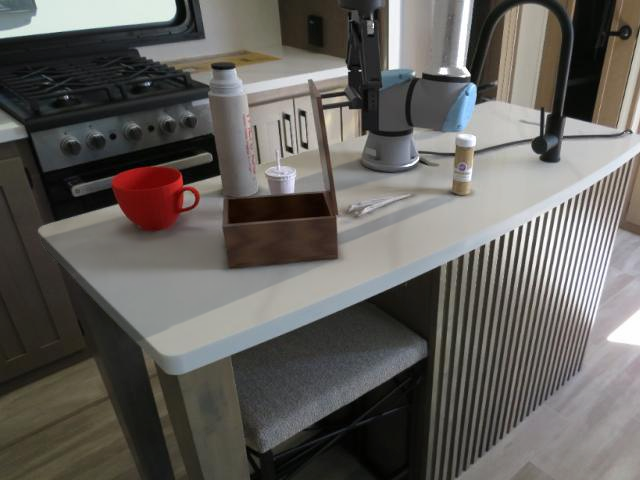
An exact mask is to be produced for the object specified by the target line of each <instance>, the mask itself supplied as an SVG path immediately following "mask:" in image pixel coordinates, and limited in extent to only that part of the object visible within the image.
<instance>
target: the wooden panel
mask: <svg viewBox="0 0 640 480" xmlns="http://www.w3.org/2000/svg"><path fill="white" fill-rule="evenodd" d="M307 84H308V91H309V96H310V103H311V108H312V116H313V122H314V127H315V134H316V141H317V146H318V147H317V148H318V153H319V159H320V165H321V171H322V172H321V174H322V178H323V184H324V185H323V186H324V191H326V193H327V196H328V199H329V201H330V204H331V207H332V210H333V213H334V215H336V216H339V215H340V214H339V207H338V201H337V194H336V193H337V192H336V188H335V181H334V174H333V166H332V160H331V154H330V146H329V140H328V132H327V125H326V120H325V119H326V118H325V113H324V111H326V110H332V109H333V110H334V109H339V108H347V107H349V106H352V107H353V108H354V109H353V110H361V109H360V108H362V99H361V97H360V96H359V95H358V93H357V92H356V91H355V89H354V88H353V87H351V86H348V85H347V86H346V87H345V88H344V90H341V91H334V92H325V93H320V92H319V90H318V88H317V86H316V84H315V82H314V80H313V79H312V78H310V79H309V78H307ZM339 97H345V98H346V99H347V101H340V102H333V103H326V104H325V103H324V104H323V100H325V99H332V98H339Z"/></svg>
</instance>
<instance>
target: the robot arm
mask: <svg viewBox="0 0 640 480" xmlns="http://www.w3.org/2000/svg"><path fill="white" fill-rule="evenodd" d="M473 2H474V0H434V7H433V15H432V30H431V31H432V32H431V41H430V51H429V63H428V65H427V66H426V67H424V68H423V70H421V71H422V73H421V77H417V73H416V70H415V69H411V68H393V69H386V70H382V62H381V51H380V39H379V26H380V25H379V20H378V19H374V16H373V12H374V11H382V10H384V9H385V8H386V0H337V5H338V7H339V8H340V9H341V10H345V11H347V12H346V16H347V26H346V27H347V28H346V45H345V59H344V62H345V65H346V69H347V87H348V86H351V87H353V88H354V89H355V91H356V92H357V93H358V95H359V96H360V97H361V99H362V108H360V109H359V110H361V130H362V131H363V132H368V135H367V137H366V141H365V143H364V147H363V150H362V153H361V163H362V166H364V167H366V168H368V169H370V170H373V171H376V172H383V173H400V172H407V171H411V170H413V169H416V168H417V167H419V164H420V155H432V156H433V155H435V156H445V157H447V156H448V157H449V156H450V157H451V156H454V157H455V152H439V151H429V150H418V146H417V143H416V139H415V135H414V128H417V129H418V128H419V129H427V130H434V131H440V132H443V133H460V132H462V131H463V130H464V129H466V128H467V126H468V124H469V123H470V120H471V118H472V115H473V113H474V108H475V105H476V102H477V91H478V90H477V89H478V88H477V85H476V84H475V83H474V82H471V78H472V77H471V76H472V74H471V73H470V71H469V70H468V69H467V67H466V65H467V55H468V46H469V39H470V38H469V37H470V36H469V35H470V28H471V20H472V12H473ZM348 110H349V111H350V110H355V109H354V108H353V107H352V106H348ZM624 132H626V133H629V134H634V132H633V131H632V129H630V128H627V129H625V130H623V131H622V132H620V133H613V134H612V133H611V134H574V135H573V134H572V135H570V134H569V135H562V136H563V138H562V139H577V138H578V139H581V138H614V137H615V138H617V137H621V136H623V135H625V134H626V133H624ZM534 138H535V137H534ZM534 138H527V139H520V140H514V141H510V142H505V143H499V144H496V145H492V146H488V147H484V148H481V149H477V150H474V155H475V154H480V153H483V152H488V151H490V150H495V149H499V148H503V147H508V146H513V145H517V144H523V143H529V142H533V141H532V140H533V139H534Z"/></svg>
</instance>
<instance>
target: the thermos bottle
mask: <svg viewBox="0 0 640 480" xmlns="http://www.w3.org/2000/svg"><path fill="white" fill-rule="evenodd" d="M210 68H211V69H212V78H211V79H210V80H209V85H208V86H209V88H210V90H209V91H208V92H207V95H208V103H209V109H210V116H211V122H212V129H213V134H214V135H213V136H214V141H215V148H216V153H217V159H218V168H219V174H220V175H219V176H220V180H221V188H222V193H223V195H225V196H227V197H243V196H254V195H255V194H256V193H258V191H259V185H258V175H257V167H256V160H255V159H256V158H255V151H254V142H253V134H252V126H251V117H250V108H249V100H248V93H247V90H246V89H244V87H243V86H244V83H243V80H242V79H241V78H240V77H238V74H237V73H238V72H237V69H236V63H235V62H232V61H231V62H230V61H217V62H213V63H211V64H210Z"/></svg>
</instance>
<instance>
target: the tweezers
mask: <svg viewBox="0 0 640 480" xmlns="http://www.w3.org/2000/svg"><path fill="white" fill-rule="evenodd" d="M409 196H412V193H409V194H404V195H403V194H402V195H398V196H391V197H383V198H375V199H366V200H362V201H358V202H354V203H352V204H349V205H348V206H347V208H346V210H347V213H350V212H351V211H353V210H355V209H360V208H363V209H362V210H360V211H355V218H359V217H361V216H363V215H365V214H367V213H368V212H372V211H374V210H375V209H378V208H380V207H383V206H386V205H388V204H390V203H393V202H396V201H399V200H403V199H406V198H407V197H409Z"/></svg>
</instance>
